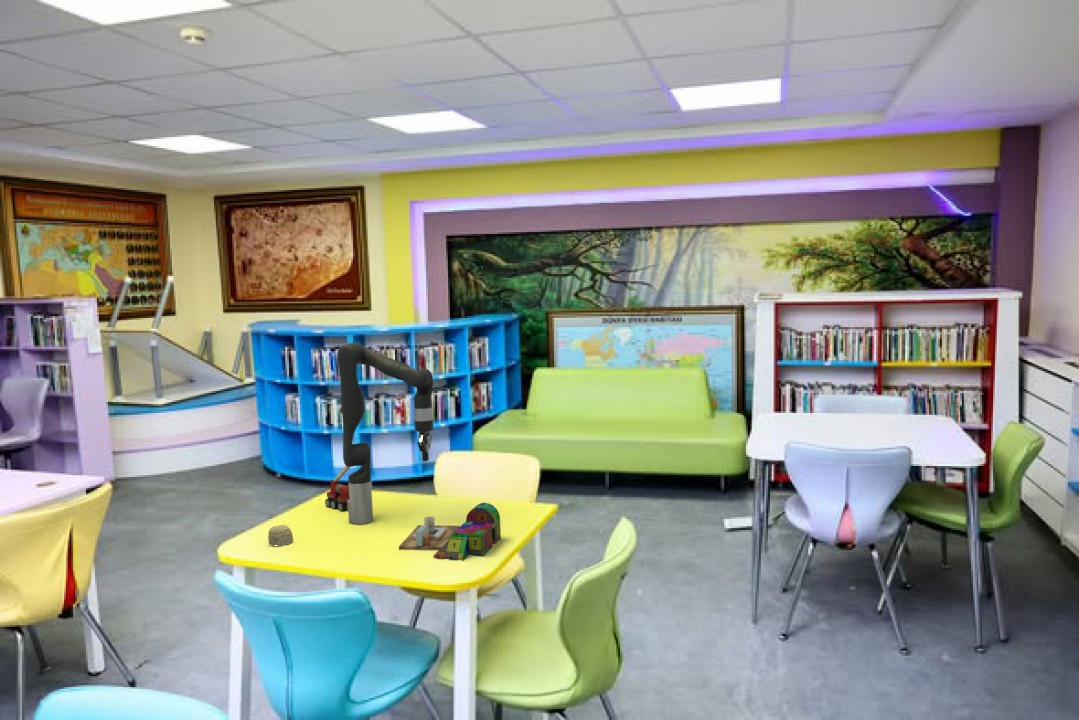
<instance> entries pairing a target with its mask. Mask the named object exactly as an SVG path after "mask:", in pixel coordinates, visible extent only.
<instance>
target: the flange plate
mask: <svg viewBox="0 0 1079 720" xmlns="http://www.w3.org/2000/svg"><path fill="white" fill-rule="evenodd" d="M421 525H422V526H421V527H420V528H419V529H417V530H416V531H415V534H414V535H413V536H412V537H413V539H416V546H423V545H424V544H425V543H426V542H425V534H426V533H428V525H424V524H421ZM446 531H447V528H435V534H430V540H439V539H440V538H441V537H442V536H443V535H444V533H445V532H446Z"/></svg>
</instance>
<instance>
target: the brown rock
mask: <svg viewBox="0 0 1079 720" xmlns="http://www.w3.org/2000/svg"><path fill="white" fill-rule="evenodd" d="M267 539H268V545H269V544H270V545H278V546H277V547H281V546H280V545H286V546H288V545H287V544H289V545H291V544H293V543H294V536H293V532H292V530H291V528H290V527H289V526H288V525H285V524H280V525H274V526H272V527H270V528H269V531H268V537H267ZM290 543H291V544H290ZM270 545H269V546H270Z"/></svg>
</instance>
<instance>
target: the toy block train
mask: <svg viewBox="0 0 1079 720" xmlns="http://www.w3.org/2000/svg"><path fill="white" fill-rule="evenodd" d="M501 530H502V529H501V516H500V512H499V510H498V509H497V507H495V506H494V505H493V504H491V503H488V502H481V503H479V504H477V505H475V506H474V507H473V508H471V509H470V510H469V512H468V513H467V515H466V518H465V522H464V523H462V524H461V525H459V528H457V529H456V530H455V531H454V532H453V537H451V538H450V539H449V540H448V541H447V542H446V543H445V544H444V545H443V546H442V547H441V548H440V549H439V550H436V553H434V554H433V559H434V558H436V559H435V560H444V559H449V560H448V561H457V560H462V561H461V562H463V561H465V559H466V558H467V557H469V555H474V556H473V557H485V555H486V554H488V552H490V550H491V549H492V548H493V545H496V544H497V543H498V542H499V541H500V540H502V534H501Z"/></svg>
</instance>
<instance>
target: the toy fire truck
mask: <svg viewBox="0 0 1079 720" xmlns="http://www.w3.org/2000/svg"><path fill="white" fill-rule="evenodd" d="M350 468H351V467H347V466H346V465H345V466H344V467H343V468H342V469H341V470H340V472H339V473H338V474H337V476H336V478H335V479H332V480H330V490H329V491H327V492H326V498H325V501H324V504H325V507H326V508H331V509H332V510H336V509H338V511H340V512H344V511H345V512H346V510H348V501H349V500H350V499H349V484H348V485H343V484H342V483H340V482H339V481H340V480H341V478H342V477H343V476H344V475H345V474H346V473H347V472H348V470H349V469H350Z"/></svg>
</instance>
